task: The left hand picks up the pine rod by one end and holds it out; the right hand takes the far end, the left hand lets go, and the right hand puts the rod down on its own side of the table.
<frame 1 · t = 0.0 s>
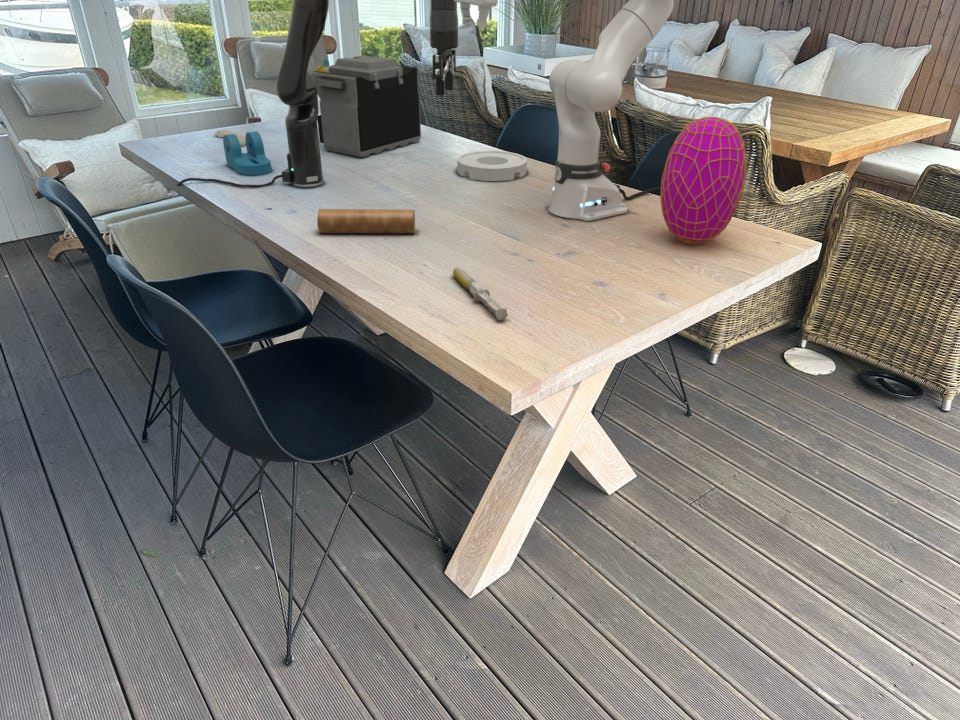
left hand: (444, 92, 191), 29 cm above the table, tool pointing down, fingers open, 8 cm apart
right hand: (474, 26, 160), 48 cm above the table, tool pointing down, fingers open, 8 cm apart
ashtray: (491, 171, 229), on the table
decorative egg: (691, 241, 175), on the table
camera mount: (251, 168, 229), on the table
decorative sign: (236, 138, 266), on the table
rod: (367, 232, 178), on the table
grey cooler box: (371, 146, 258), on the table
syringe: (478, 297, 145), on the table
potted flower: (331, 121, 296), on the table
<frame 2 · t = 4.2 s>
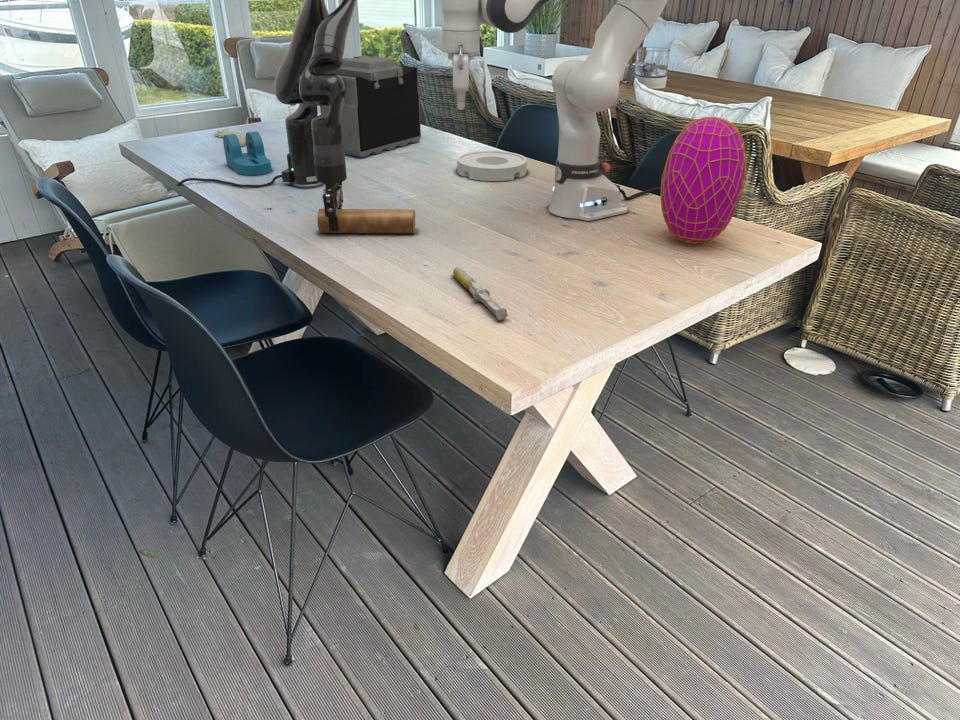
left hand: (336, 226, 177), 2 cm above the table, tool pointing down, fingers closed on rod, 6 cm apart
right hand: (461, 105, 168), 31 cm above the table, tool pointing down, fingers open, 8 cm apart
rod: (367, 232, 178), on the table, touching left hand
everything else where it was.
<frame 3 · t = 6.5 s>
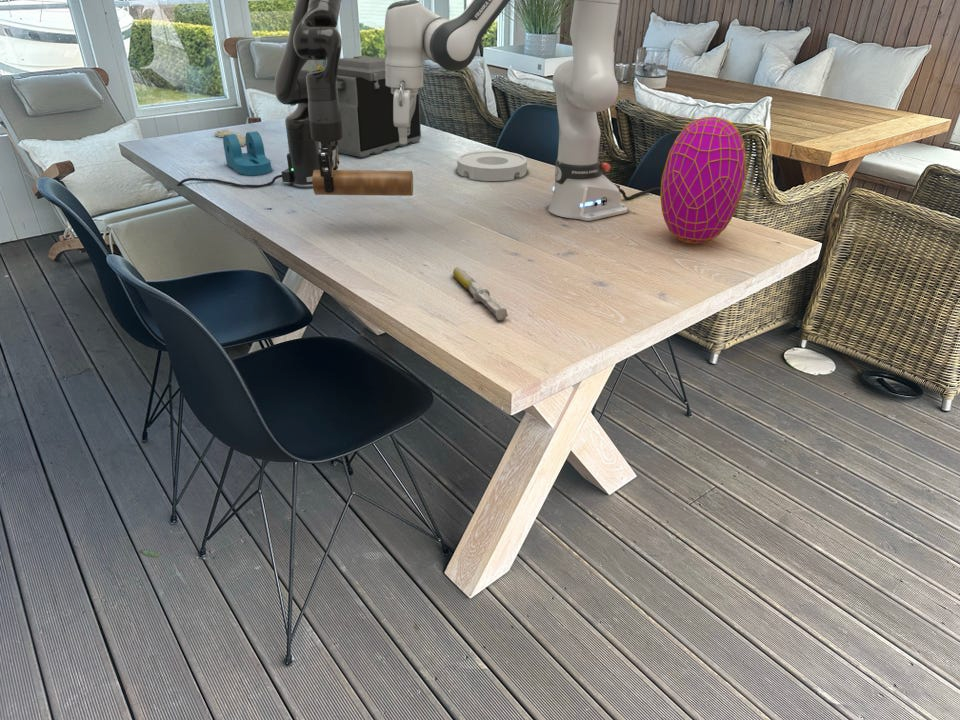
left hand: (332, 187, 172), 12 cm above the table, tool pointing down, fingers closed on rod, 6 cm apart
right hand: (404, 139, 167), 24 cm above the table, tool pointing down, fingers open, 8 cm apart
rod: (364, 194, 173), point 10 cm above the table, touching left hand
everything else where it was.
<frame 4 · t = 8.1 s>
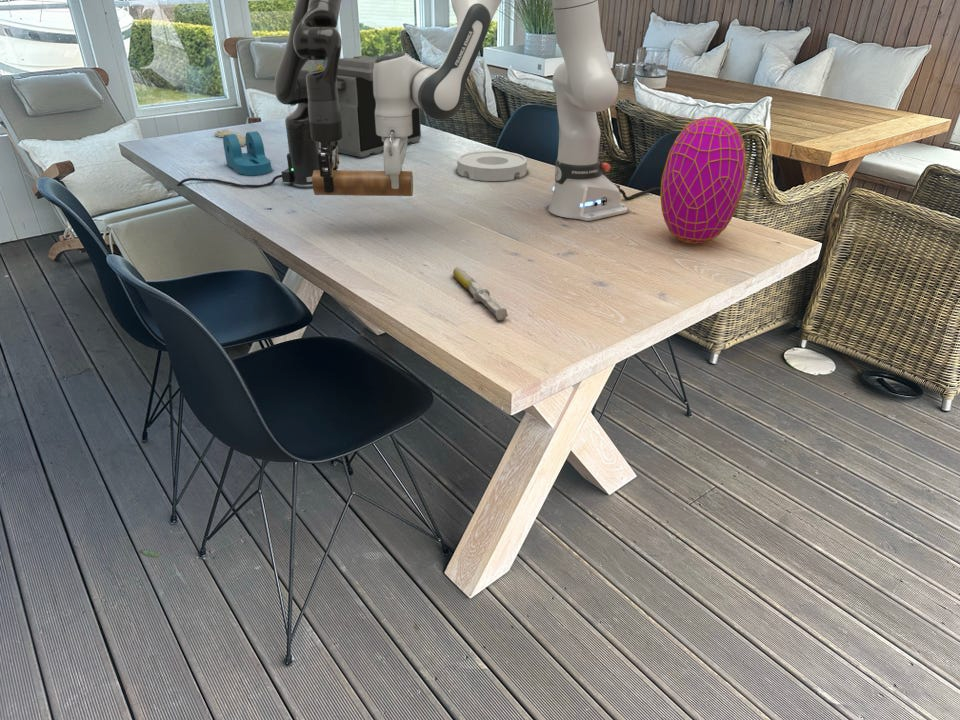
left hand: (331, 188, 172), 12 cm above the table, tool pointing down, fingers closed on rod, 6 cm apart
right hand: (396, 183, 172), 13 cm above the table, tool pointing down, fingers closed on rod, 6 cm apart
rod: (364, 195, 173), point 10 cm above the table, touching left hand, right hand
everything else where it was.
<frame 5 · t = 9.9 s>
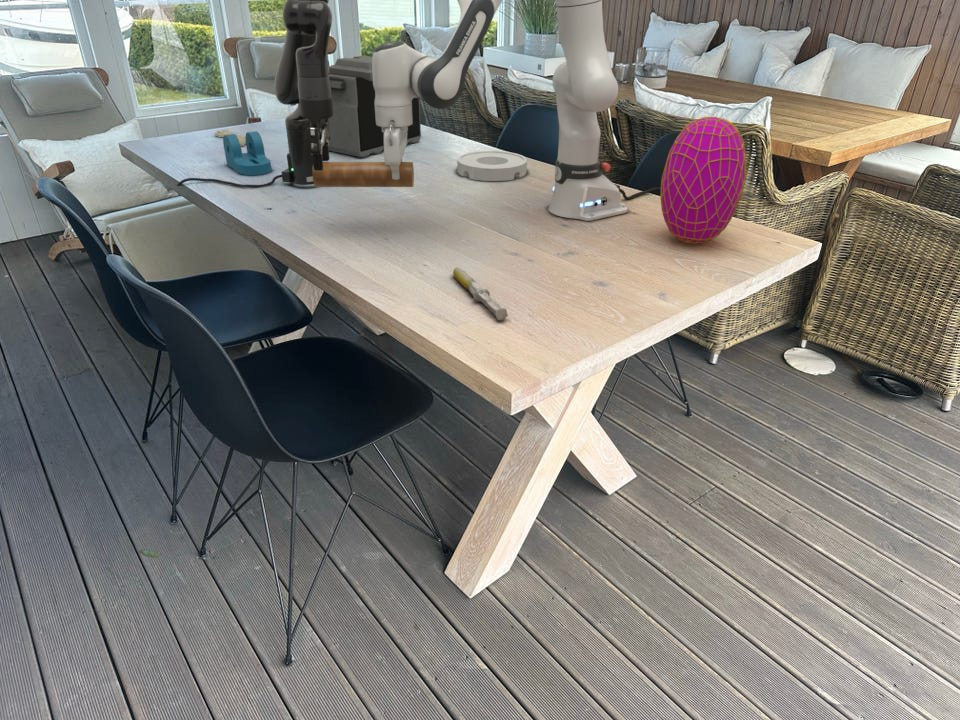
left hand: (321, 165, 169), 17 cm above the table, tool pointing down, fingers open, 8 cm apart
right hand: (397, 174, 171), 15 cm above the table, tool pointing down, fingers closed on rod, 6 cm apart
rod: (365, 186, 172), point 12 cm above the table, touching right hand
everything else where it was.
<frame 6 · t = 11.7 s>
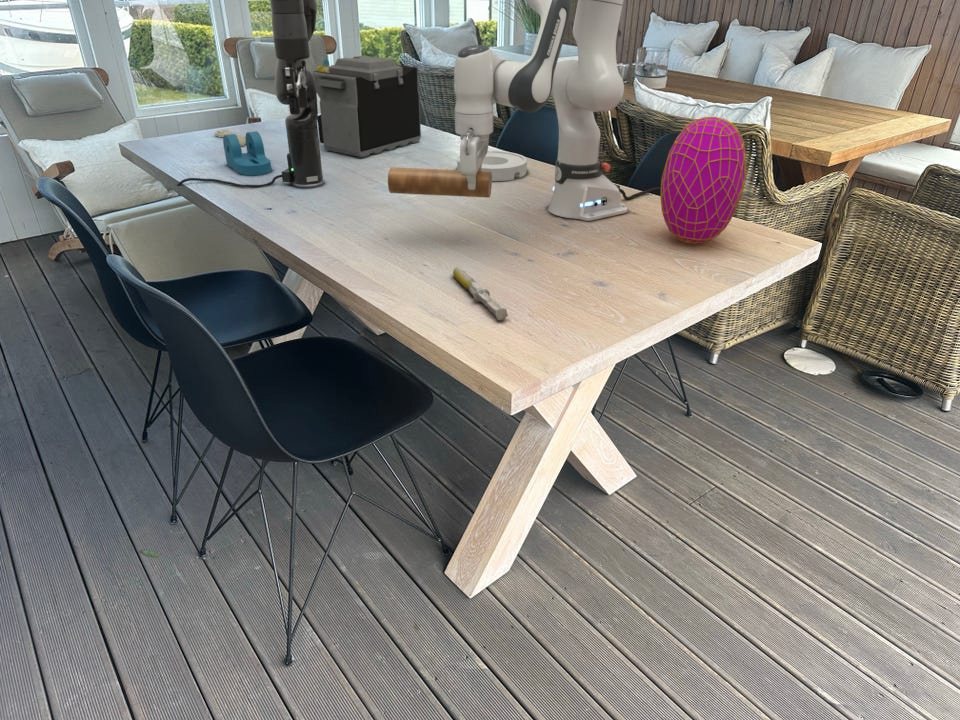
left hand: (299, 110, 163), 30 cm above the table, tool pointing down, fingers open, 8 cm apart
right hand: (474, 184, 164), 15 cm above the table, tool pointing down, fingers closed on rod, 6 cm apart
rod: (440, 194, 166), point 12 cm above the table, touching right hand
everything else where it was.
when the right hand's fingers open (5 cm above the table, at t = 15.5 s): rod stays where it is, on the table.
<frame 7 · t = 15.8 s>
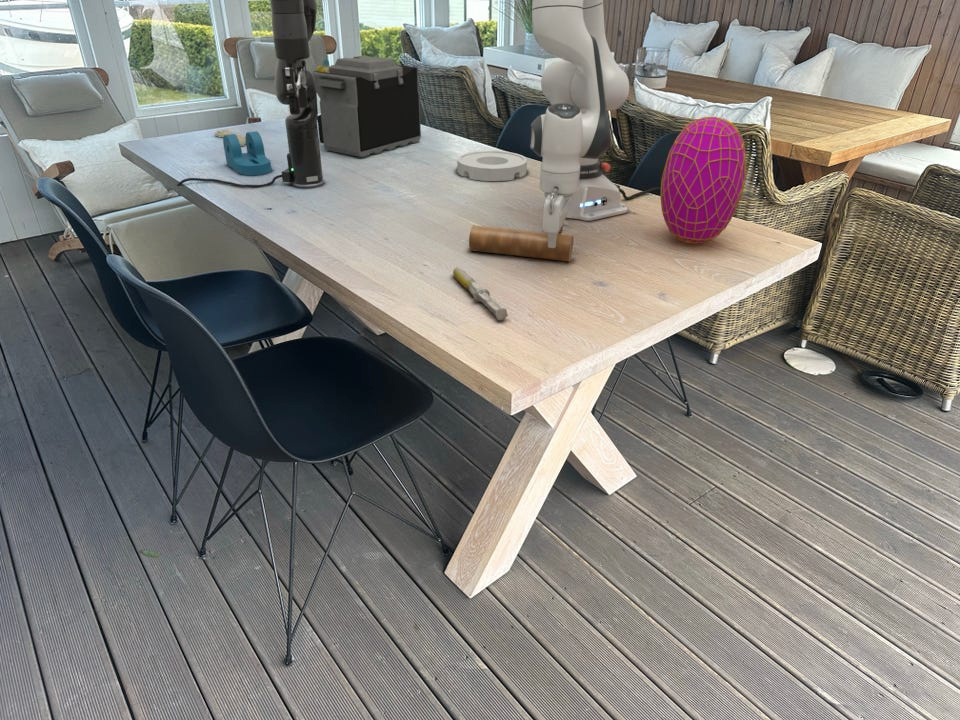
left hand: (299, 110, 163), 30 cm above the table, tool pointing down, fingers open, 8 cm apart
right hand: (555, 239, 161), 5 cm above the table, tool pointing down, fingers open, 8 cm apart
rod: (520, 255, 166), on the table
everything else where it was.
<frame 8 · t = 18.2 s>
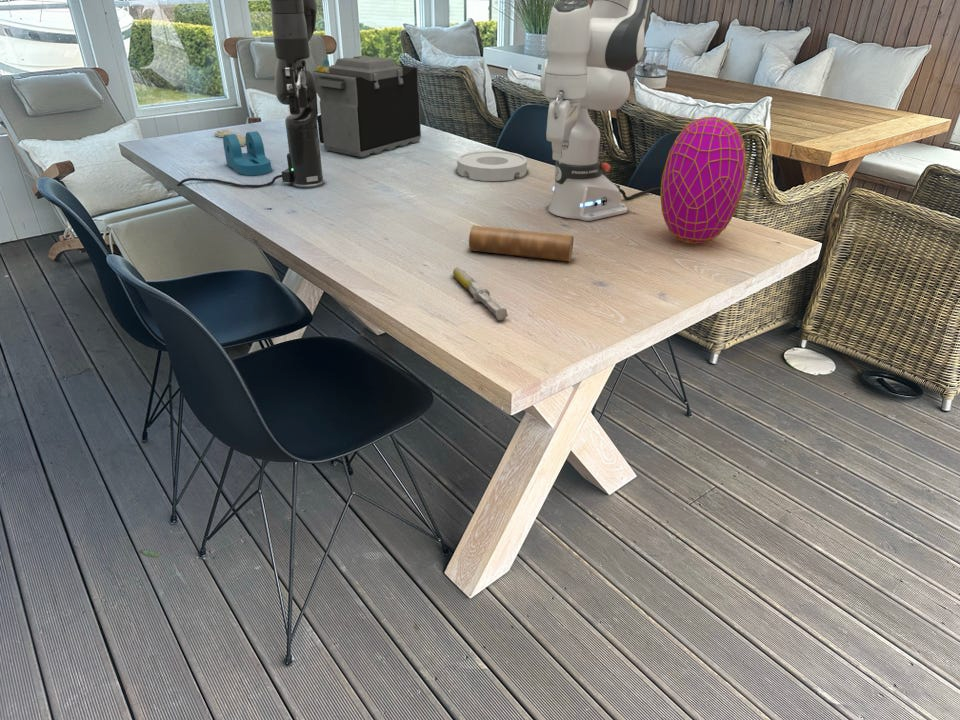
left hand: (299, 110, 163), 30 cm above the table, tool pointing down, fingers open, 8 cm apart
right hand: (560, 154, 151), 25 cm above the table, tool pointing down, fingers open, 8 cm apart
nothing on the table moved.
at the end: rod inside the target area (8.0 cm from its centre), on the table; the left hand is holding nothing; the right hand is holding nothing; rod at rest at the end (0.0 cm/s) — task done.
